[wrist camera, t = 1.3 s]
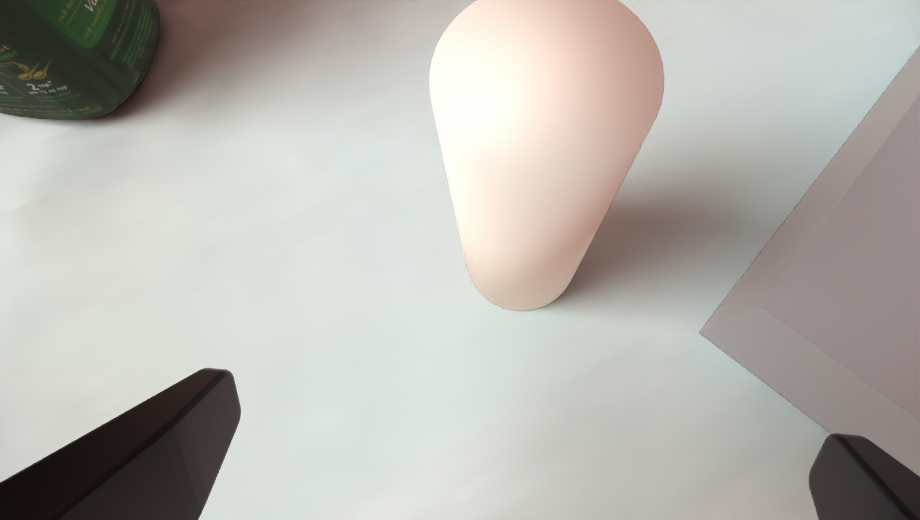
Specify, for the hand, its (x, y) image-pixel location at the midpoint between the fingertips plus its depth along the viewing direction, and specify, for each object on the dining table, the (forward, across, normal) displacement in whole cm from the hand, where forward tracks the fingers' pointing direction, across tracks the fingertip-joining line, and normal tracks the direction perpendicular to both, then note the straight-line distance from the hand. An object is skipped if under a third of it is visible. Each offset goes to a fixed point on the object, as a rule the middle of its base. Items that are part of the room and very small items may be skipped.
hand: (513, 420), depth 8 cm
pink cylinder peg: (+13, 0, +4) cm, 14 cm away
